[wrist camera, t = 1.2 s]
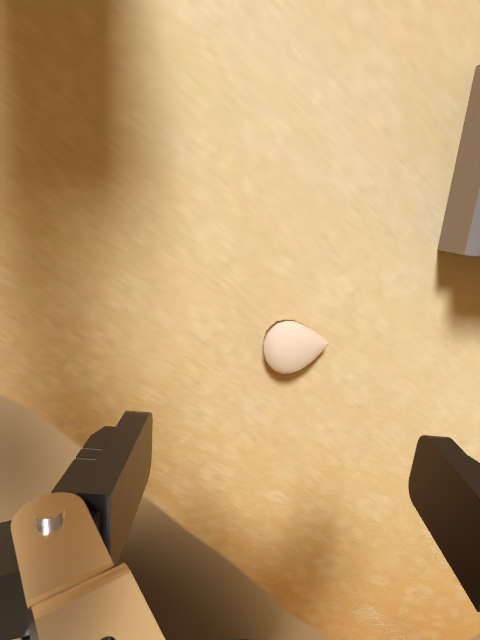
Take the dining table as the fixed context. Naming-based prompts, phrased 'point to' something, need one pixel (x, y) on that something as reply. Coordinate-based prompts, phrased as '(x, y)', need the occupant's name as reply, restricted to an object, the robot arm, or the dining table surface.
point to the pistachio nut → (291, 346)
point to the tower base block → (465, 185)
